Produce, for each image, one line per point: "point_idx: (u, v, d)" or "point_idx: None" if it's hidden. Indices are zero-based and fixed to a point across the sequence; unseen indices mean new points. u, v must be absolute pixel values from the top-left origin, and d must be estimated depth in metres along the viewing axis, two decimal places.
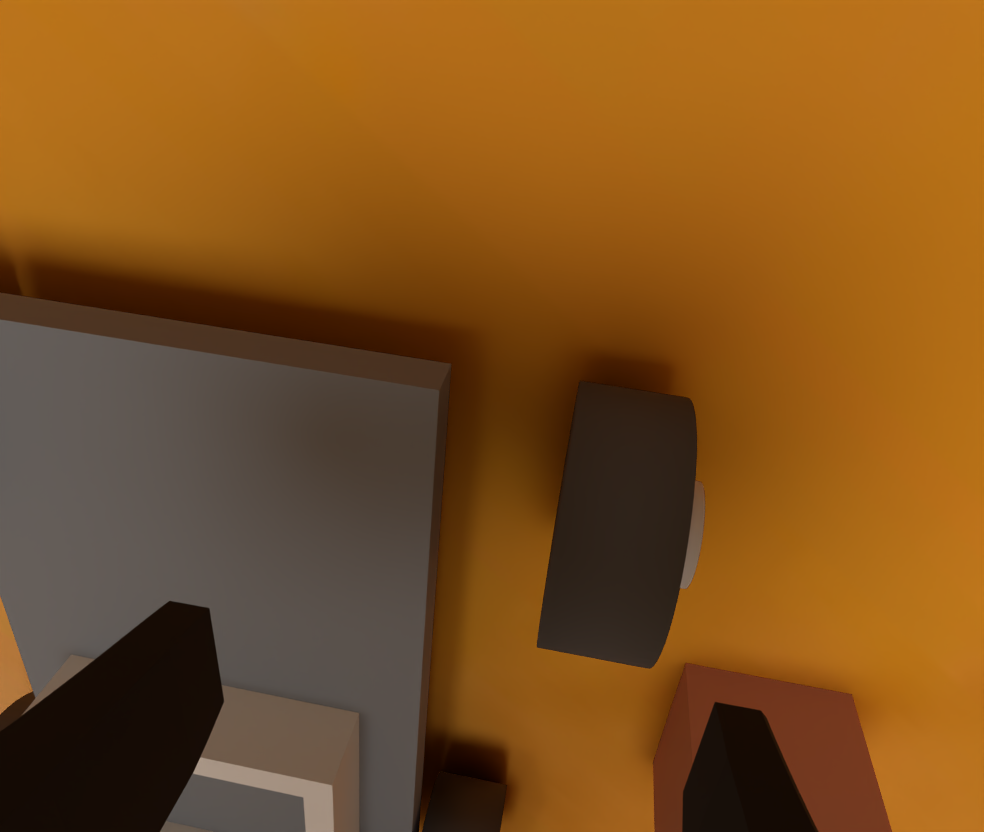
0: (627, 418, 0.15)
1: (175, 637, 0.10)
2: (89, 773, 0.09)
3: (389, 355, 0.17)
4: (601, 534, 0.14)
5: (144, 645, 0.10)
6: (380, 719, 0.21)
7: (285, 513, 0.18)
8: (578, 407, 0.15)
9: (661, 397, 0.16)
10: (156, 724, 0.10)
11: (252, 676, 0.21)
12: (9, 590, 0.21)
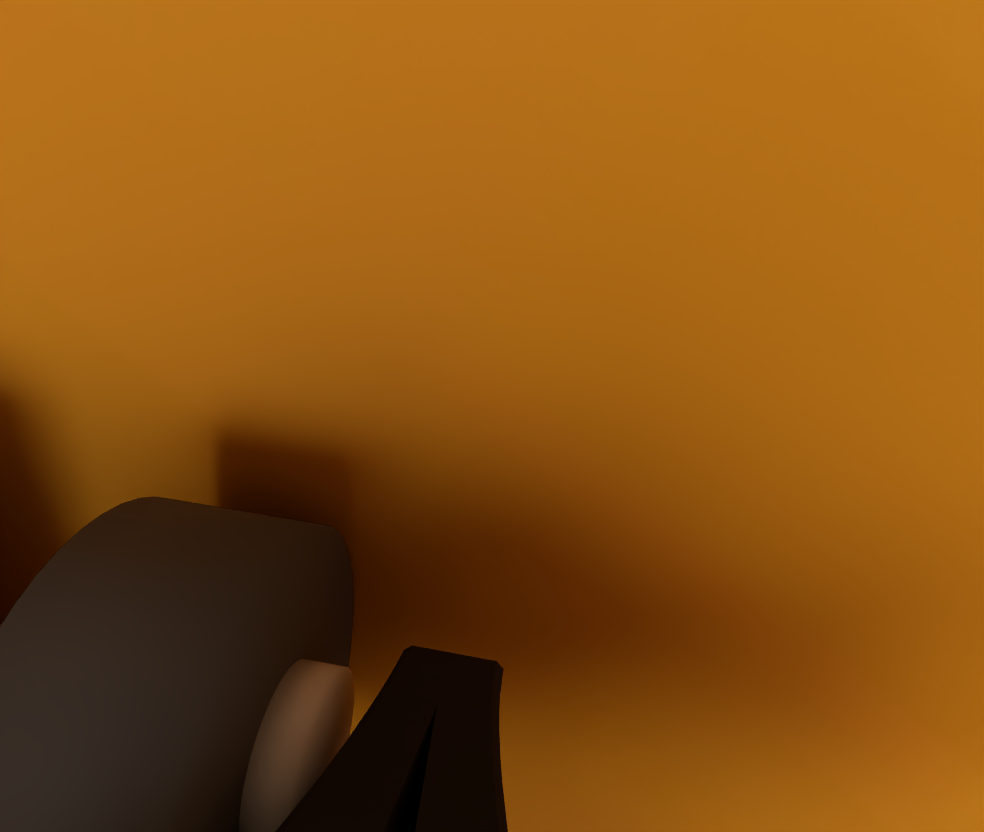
0: (122, 596, 0.08)
1: (439, 687, 0.10)
2: None
3: None
4: None
5: (412, 697, 0.09)
6: None
7: None
8: (41, 572, 0.08)
9: (237, 538, 0.09)
10: (424, 779, 0.09)
11: None
12: None
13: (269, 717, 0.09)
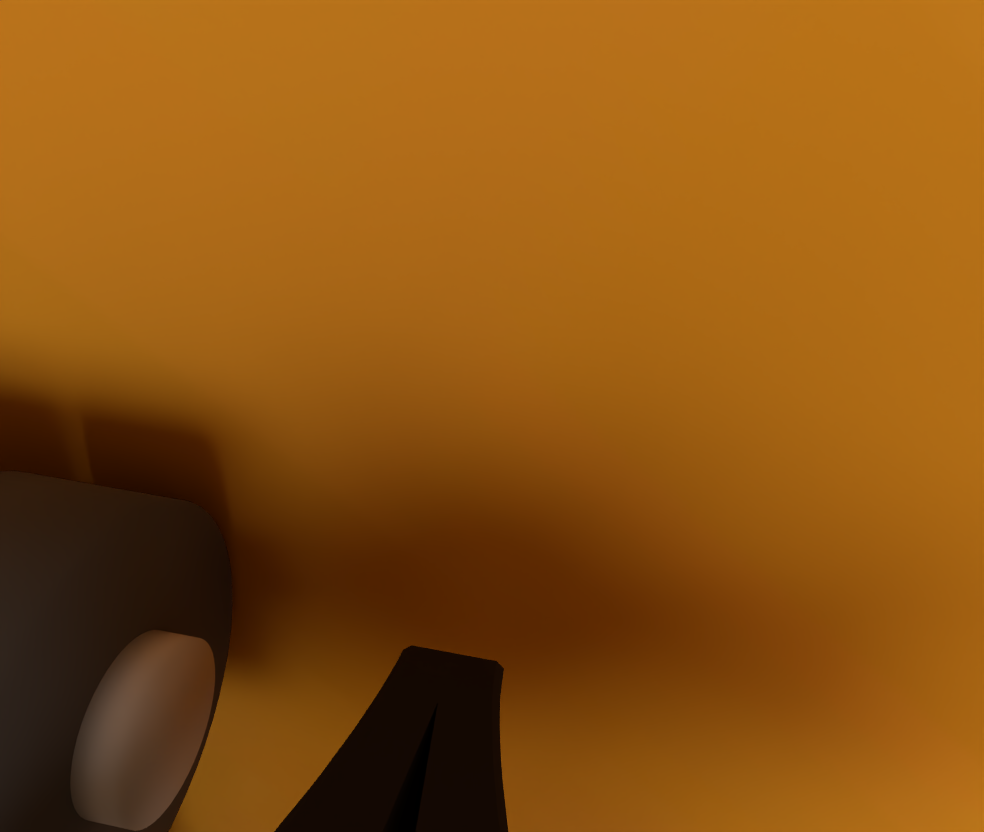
0: None
1: (438, 687, 0.10)
2: None
3: None
4: None
5: (412, 697, 0.09)
6: None
7: None
8: None
9: (77, 508, 0.09)
10: (423, 778, 0.09)
11: None
12: None
13: (105, 682, 0.09)
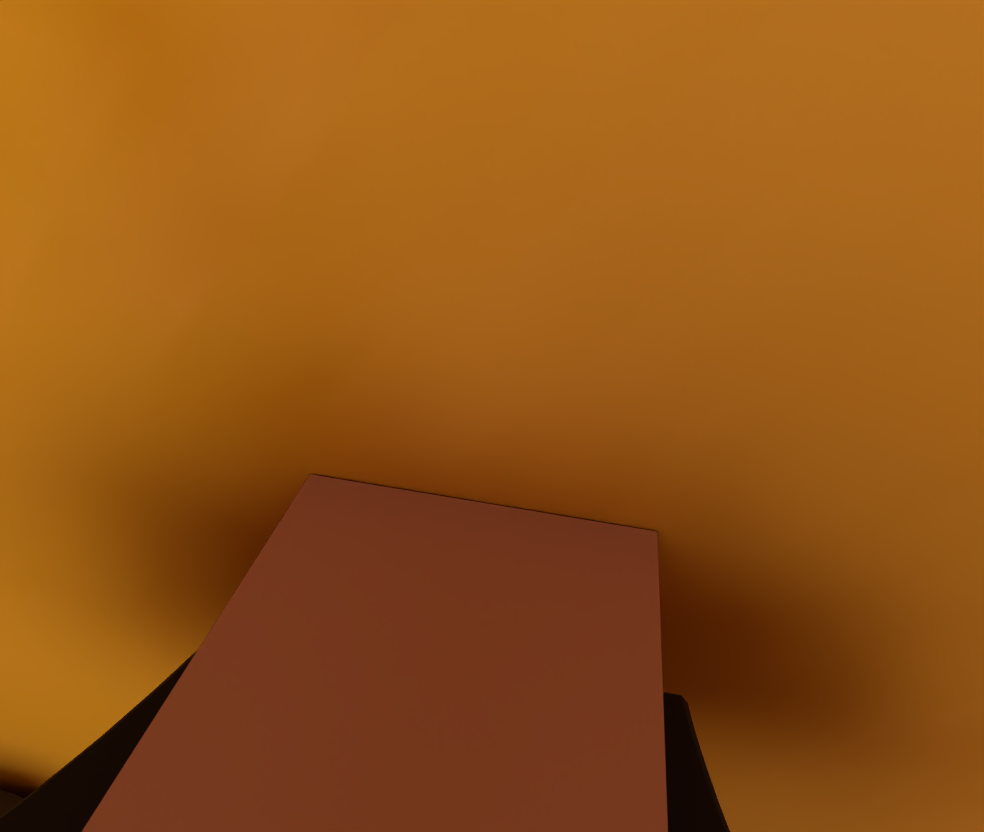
0: None
1: None
2: None
3: None
4: None
5: None
6: None
7: None
8: None
9: None
10: None
11: None
12: None
13: None
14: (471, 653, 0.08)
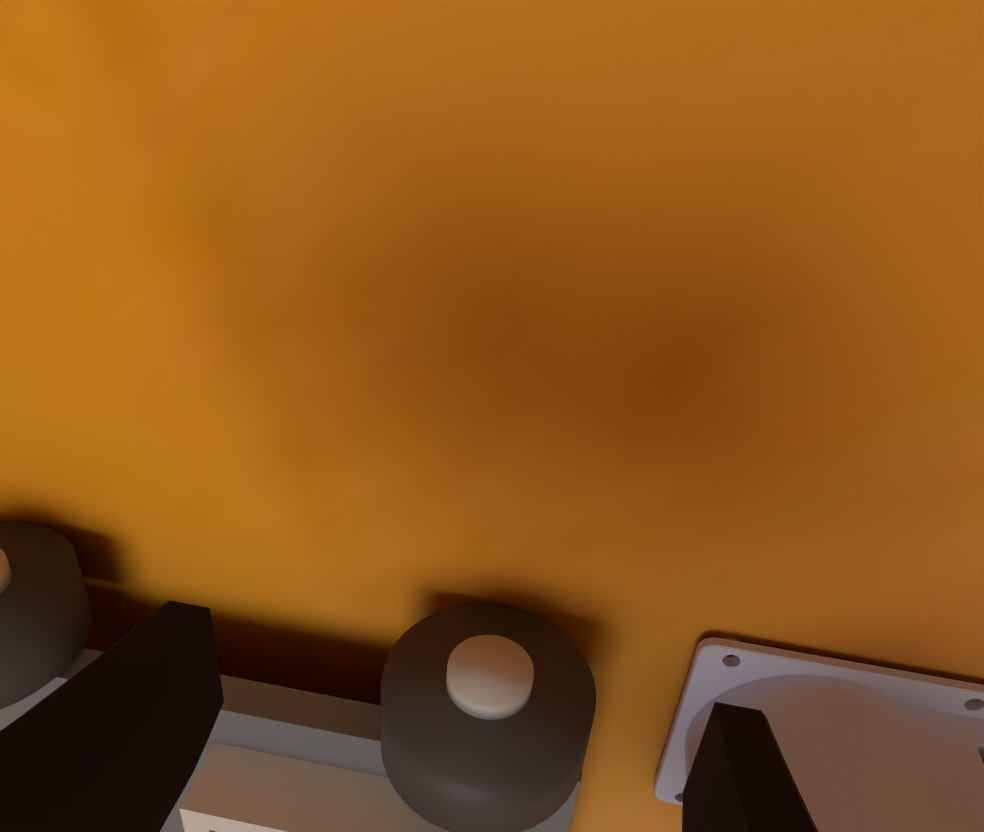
0: None
1: (175, 637, 0.10)
2: (89, 773, 0.09)
3: None
4: None
5: (144, 645, 0.10)
6: (215, 730, 0.24)
7: None
8: None
9: None
10: (156, 724, 0.10)
11: None
12: None
13: None
14: None
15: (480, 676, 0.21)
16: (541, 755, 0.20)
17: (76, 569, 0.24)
